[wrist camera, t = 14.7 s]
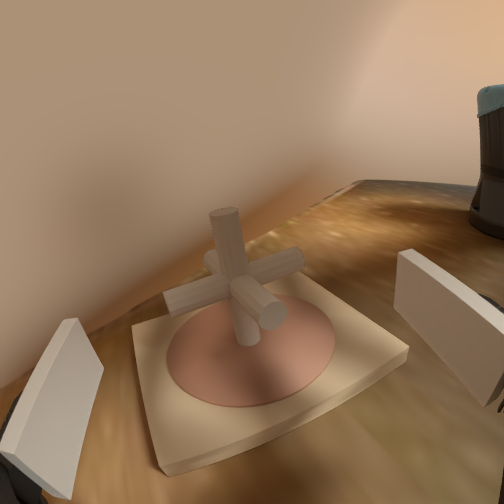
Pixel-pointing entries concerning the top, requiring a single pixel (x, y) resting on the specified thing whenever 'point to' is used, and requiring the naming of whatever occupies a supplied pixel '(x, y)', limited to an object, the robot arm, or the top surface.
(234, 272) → the grey toy jack
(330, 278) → the top surface
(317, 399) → the board
